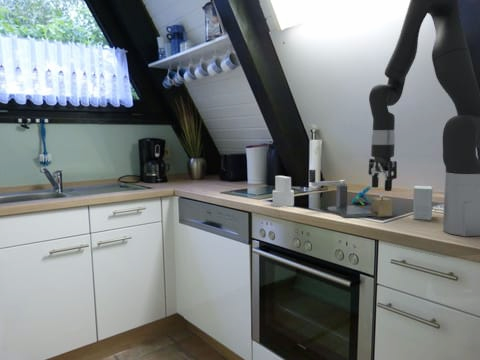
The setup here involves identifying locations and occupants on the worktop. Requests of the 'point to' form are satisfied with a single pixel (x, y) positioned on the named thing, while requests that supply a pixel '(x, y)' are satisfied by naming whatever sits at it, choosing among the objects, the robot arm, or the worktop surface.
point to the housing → (381, 206)
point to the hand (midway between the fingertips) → (381, 189)
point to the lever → (323, 183)
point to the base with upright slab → (283, 192)
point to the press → (346, 210)
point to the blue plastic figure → (362, 196)
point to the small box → (422, 202)
